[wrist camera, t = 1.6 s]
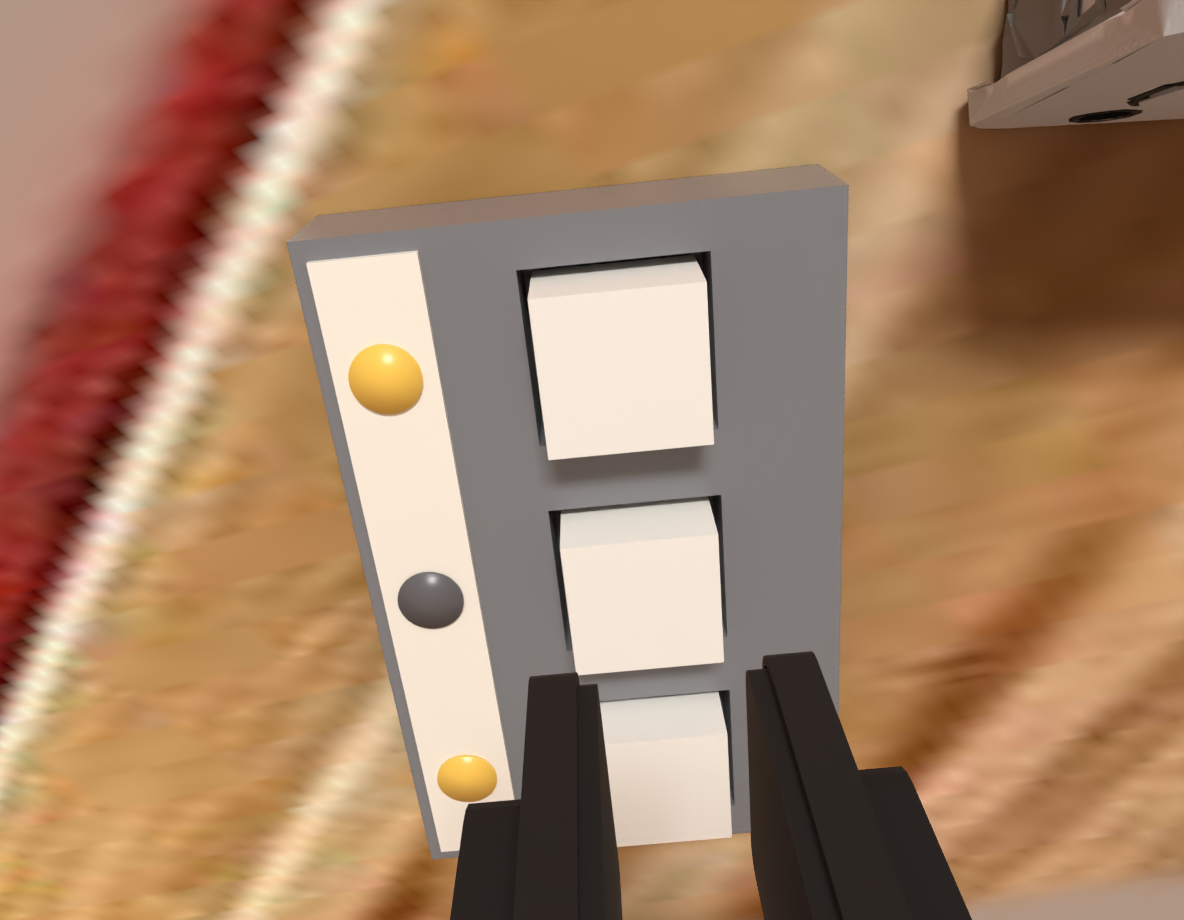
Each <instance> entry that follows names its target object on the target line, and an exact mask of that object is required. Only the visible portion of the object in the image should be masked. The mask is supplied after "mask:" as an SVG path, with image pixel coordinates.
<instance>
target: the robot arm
mask: <svg viewBox="0 0 1184 920" xmlns="http://www.w3.org/2000/svg"><path fill="white" fill-rule="evenodd" d="M746 706H747V735H748V765H749V794H750V824H751V847H752V857H753V864H754V871H755V876H756V881H757V886H758V891H759V896H760V900H761V905H762V910H763V915H764V920H972V919H971V916H970V914H969V912H968V910H967V907H966V905H965V903H964V900H963V898H962V896H961V893H960V891H959V889H958V886H957V884H956V882H955V880H954V877H953V875H952V873H951V870H950V868H949V866H948V863H947V861H946V859H945V856H944V854H943V852H942V850H941V847H940V845H939V843H938V840H937V838H936V836H935V833H934V831H933V829H932V826H931V824H930V822H929V820H928V817H927V815H926V813H925V810H924V808H923V806H922V803H921V801H920V799H919V796H918V794H917V792H916V790H915V787H914V785H913V783H912V781H911V779H910V777H909V775H908V773H907V772H906V771H905V770H904V769H903V768H902V767H901V766H900V767H888V768H877V769H865V770H858V768H857V766H856V763H855V760H854V758H853V755H852V752H851V750H850V747H849V744H848V741H847V739H846V736H845V733H844V731H843V728H842V725H841V722H840V720H839V717H838V714H837V712H836V709H835V706H834V704H833V701H832V698H831V695H830V693H829V690H828V687H827V685H826V682H825V679H824V677H823V674H822V671H821V668H820V666H819V663H818V660H817V658H816V656H815V654H814V653H813V652H812V651H808V652H797V653H786V654H775V655H764V656H763V661H762V669H755V670H747V671H746ZM450 920H622V905H621V887H620V873H619V861H618V852H617V843H616V835H615V826H614V818H613V809H612V801H611V792H610V784H609V775H608V767H607V758H606V750H605V742H604V733H603V725H602V716H601V708H600V699H599V691H598V685H597V684H587V685H580V682H579V676H578V673H577V672H574V673H562V674H551V675H540V676H530V678H529V683H528V697H527V712H526V728H525V743H524V759H523V774H522V789H521V799H517V800H506V801H494V802H483V803H471V804H468V806H467V808H466V810H465V815H464V820H463V827H462V835H461V842H460V850H459V857H458V865H457V872H456V880H455V887H454V895H453V902H452V910H451V917H450Z"/></svg>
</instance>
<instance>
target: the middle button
mask: <svg viewBox="0 0 1184 920" xmlns="http://www.w3.org/2000/svg"><path fill="white" fill-rule="evenodd" d="M560 553H561V561H562V569H563V576H564V584H565V592H566V600H567V607H568V615H569V623H570V630H571V638H572V646H573V653H574V661H575V669H576V672H577V673H578V675H588V674H599V673H610V672H621V671H633V670H644V669H655V668H666V667H677V666H688V665H700V664H711V663H722V662H724V650H723V628H722V606H721V584H720V563H719V541H718V532H717V528H716V524H715V521H714V517H713V513H712V510H711V506H710V502H709V499H708V496H703V497H693V498H682V499H671V500H661V501H650V502H639V503H629V504H618V505H607V506H597V507H586V508H576V509H565V510H561V525H560Z"/></svg>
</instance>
